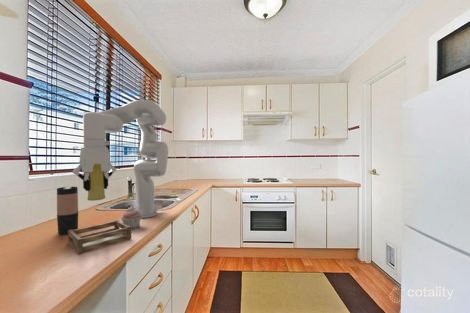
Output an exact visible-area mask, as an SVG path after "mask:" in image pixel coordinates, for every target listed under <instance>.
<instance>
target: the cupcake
mask: <svg viewBox="0 0 470 313" xmlns="http://www.w3.org/2000/svg"><path fill="white" fill-rule="evenodd" d="M140 215H141V213H140V212H139V211H138V210H137V209H136V208H134V206H130V207H128V208H127V209H126V211H124V212H123V215H122V217H121V218H120V219H121V223H123V224H125V225H127V226H131V230H134V229H137V228H139V227H140V224H141V223H140V222H141V219H143V218H142V216H140Z"/></svg>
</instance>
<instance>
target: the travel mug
mask: <svg viewBox="0 0 470 313" xmlns="http://www.w3.org/2000/svg"><path fill="white" fill-rule="evenodd" d="M78 191H79V190H78V186H71V187H68V188H67V187H65V186H64V187H58V188H56V219H57V220H56V222H57V234H58V235H59V236H66V235H67V236H68V230H75V229H79V196H78V194H79V193H78Z"/></svg>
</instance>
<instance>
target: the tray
mask: <svg viewBox="0 0 470 313" xmlns="http://www.w3.org/2000/svg"><path fill="white" fill-rule="evenodd" d="M111 227H112V228H111ZM106 228H107V229H106ZM102 229H104V230H102ZM97 230H100V231H97ZM94 231H95V232H94ZM89 232H91V233H89ZM84 233H87V234H84ZM79 234H83V235H79ZM130 239H131V240H132V229H131V226H127V225H125V224H123V222H122V221H120V220H118V219H115V220H113V221H109V222H104V223H103V222H102V223H100V224H94V225H90V226H86V227H81V228H78V229H75V230H68V234H67V244H68V245H69V246H70V247H71V248H72V249H73V250H74V251H75V252H76V254H77V255H81V254H84V253H87V252H91V251H95V250H99V249H103V248H105V247H109V246H112V245H116V244H119V243H122V242H126V241H131V240H130Z"/></svg>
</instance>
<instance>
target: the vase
mask: <svg viewBox="0 0 470 313" xmlns="http://www.w3.org/2000/svg"><path fill="white" fill-rule="evenodd" d="M88 181H89V191H87V201H91V202H92V201H101V200H102V201H103V200H105V199H106V193H105V189H104V172H102V171H101V164H94V167H93V172H92V173H90V174H89V177H88Z"/></svg>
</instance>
